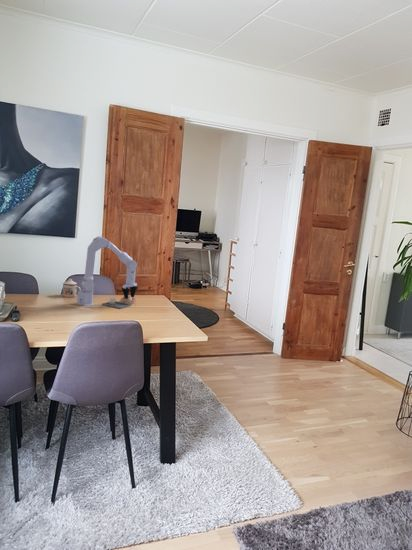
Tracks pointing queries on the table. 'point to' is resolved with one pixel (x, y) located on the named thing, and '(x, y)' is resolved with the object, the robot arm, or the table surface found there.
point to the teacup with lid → (70, 288)
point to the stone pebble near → (112, 301)
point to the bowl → (128, 300)
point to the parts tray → (117, 305)
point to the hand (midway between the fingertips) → (129, 297)
